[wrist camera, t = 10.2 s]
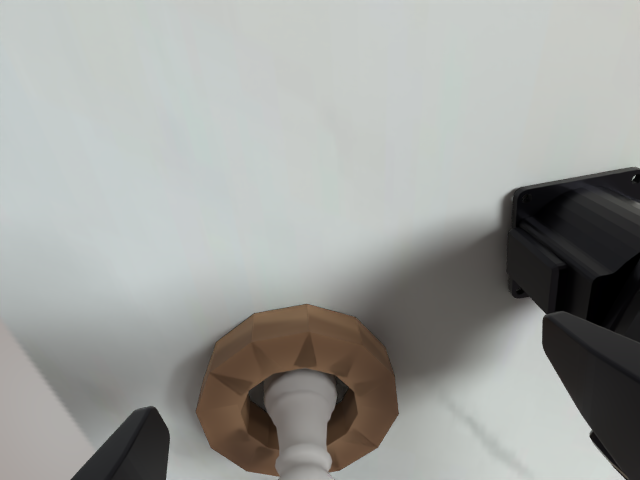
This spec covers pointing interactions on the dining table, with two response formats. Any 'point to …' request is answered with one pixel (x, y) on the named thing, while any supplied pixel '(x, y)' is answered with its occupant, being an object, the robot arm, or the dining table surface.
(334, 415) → the walnut bead ring
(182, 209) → the dining table surface
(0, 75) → the dining table surface
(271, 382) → the rook chess piece
